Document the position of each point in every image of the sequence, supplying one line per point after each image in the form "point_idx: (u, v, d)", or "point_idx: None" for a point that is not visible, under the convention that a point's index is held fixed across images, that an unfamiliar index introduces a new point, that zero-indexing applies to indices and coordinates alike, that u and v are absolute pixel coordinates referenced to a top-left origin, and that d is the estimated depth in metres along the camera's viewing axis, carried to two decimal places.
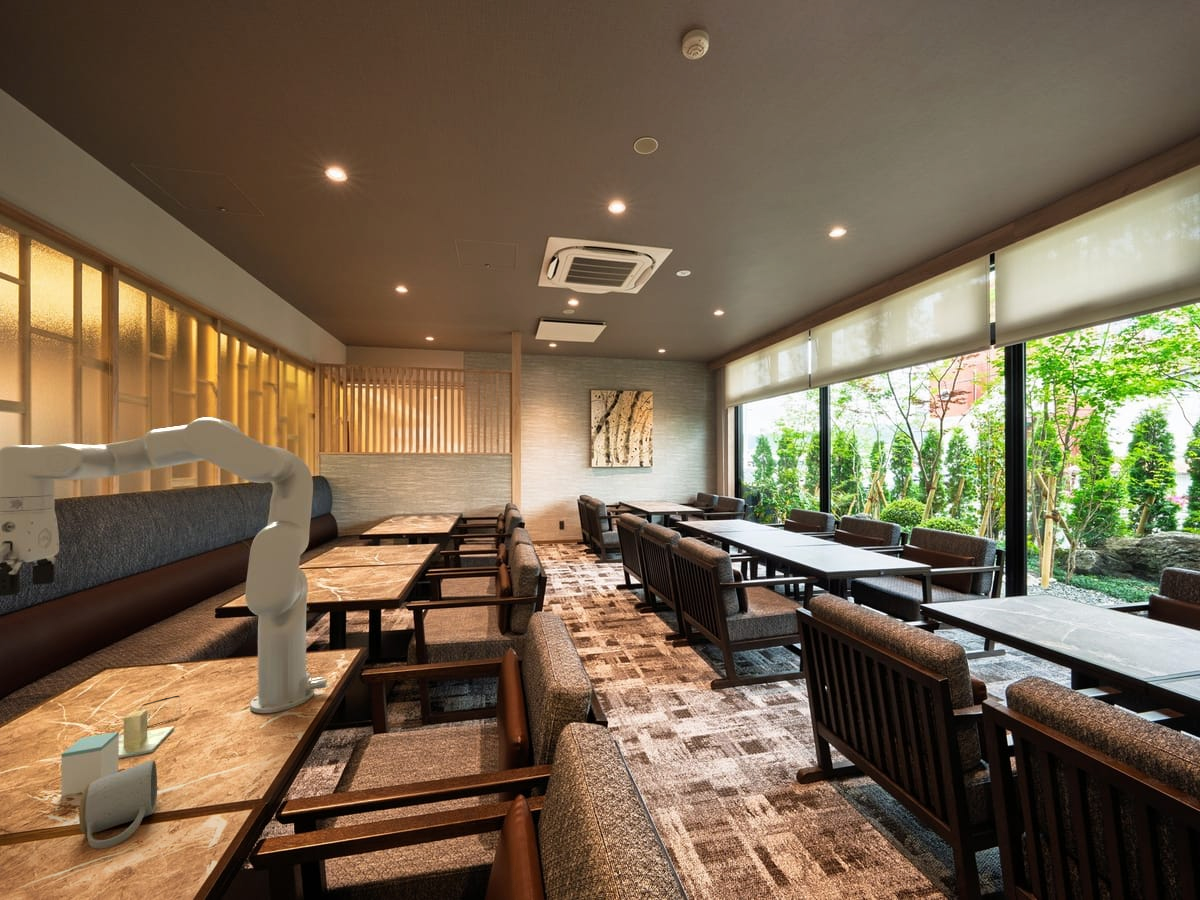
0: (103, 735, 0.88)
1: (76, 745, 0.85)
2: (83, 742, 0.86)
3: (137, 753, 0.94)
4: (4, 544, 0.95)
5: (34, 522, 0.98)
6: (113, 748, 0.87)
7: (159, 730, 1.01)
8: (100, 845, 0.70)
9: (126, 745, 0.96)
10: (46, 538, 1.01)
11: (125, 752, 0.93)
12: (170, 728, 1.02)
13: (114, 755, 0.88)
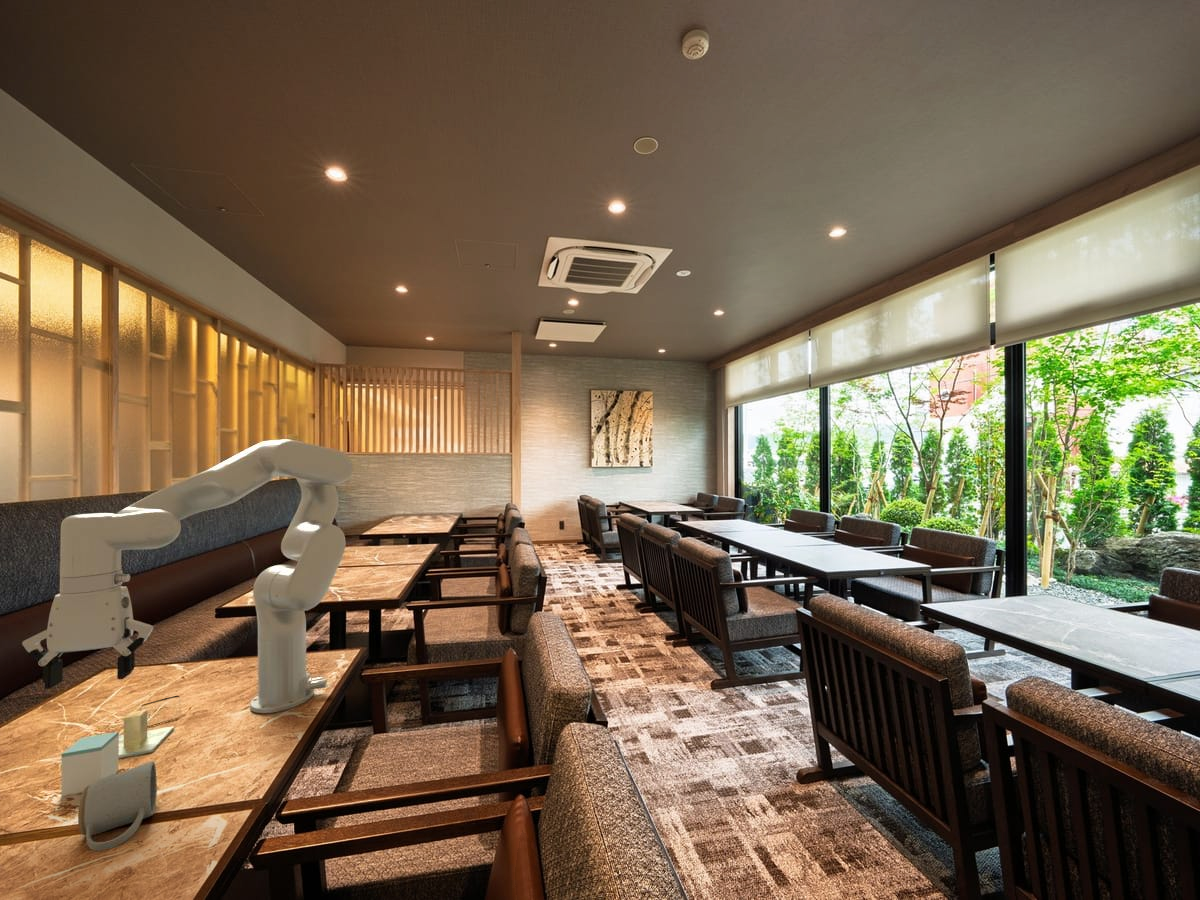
0: (103, 735, 0.88)
1: (76, 745, 0.85)
2: (83, 742, 0.86)
3: (137, 753, 0.94)
4: (129, 620, 0.88)
5: None
6: (113, 748, 0.87)
7: (159, 730, 1.01)
8: (99, 847, 0.70)
9: (126, 745, 0.96)
10: None
11: (125, 752, 0.93)
12: (170, 728, 1.02)
13: (114, 755, 0.88)
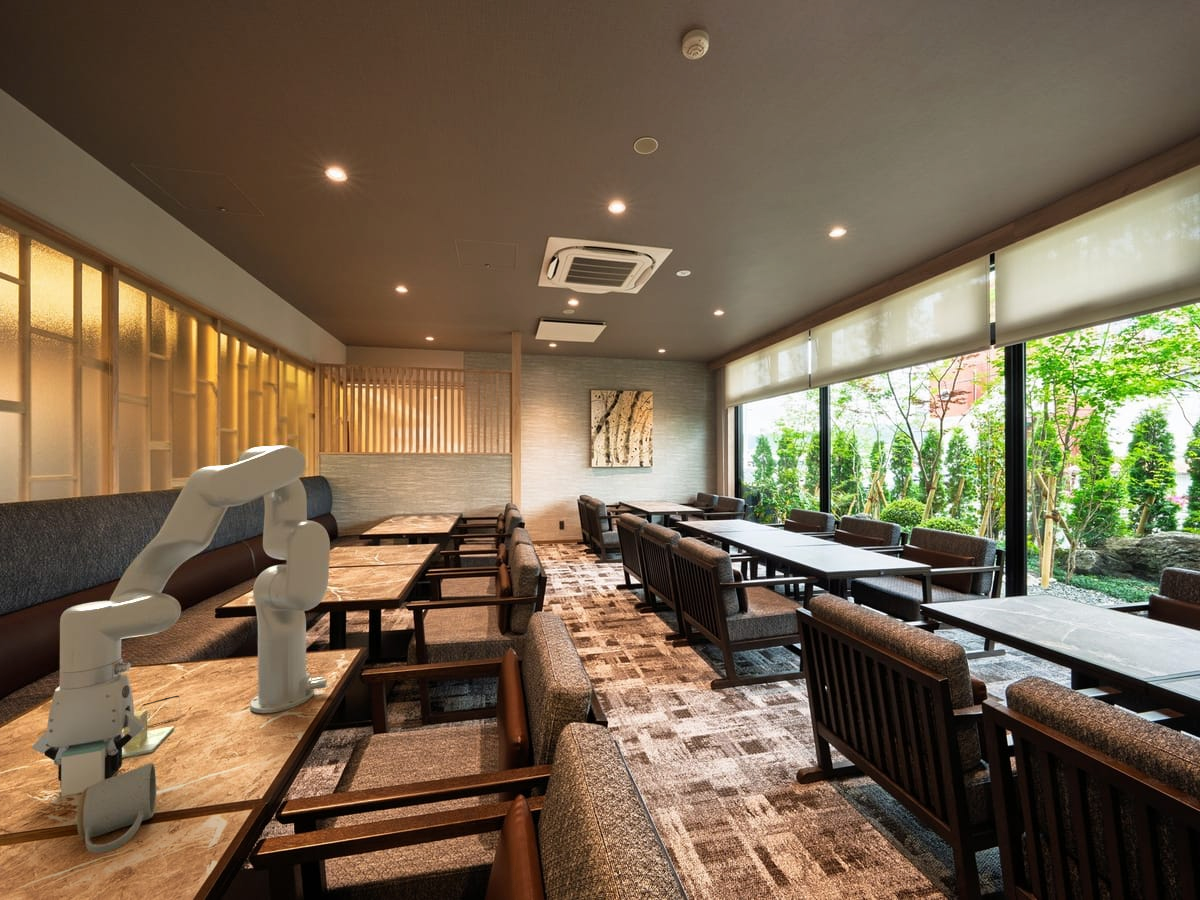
0: None
1: (76, 745, 0.85)
2: None
3: (137, 753, 0.94)
4: (128, 714, 0.87)
5: None
6: None
7: (159, 730, 1.01)
8: (98, 850, 0.69)
9: (126, 745, 0.96)
10: None
11: (125, 752, 0.93)
12: (170, 728, 1.02)
13: None
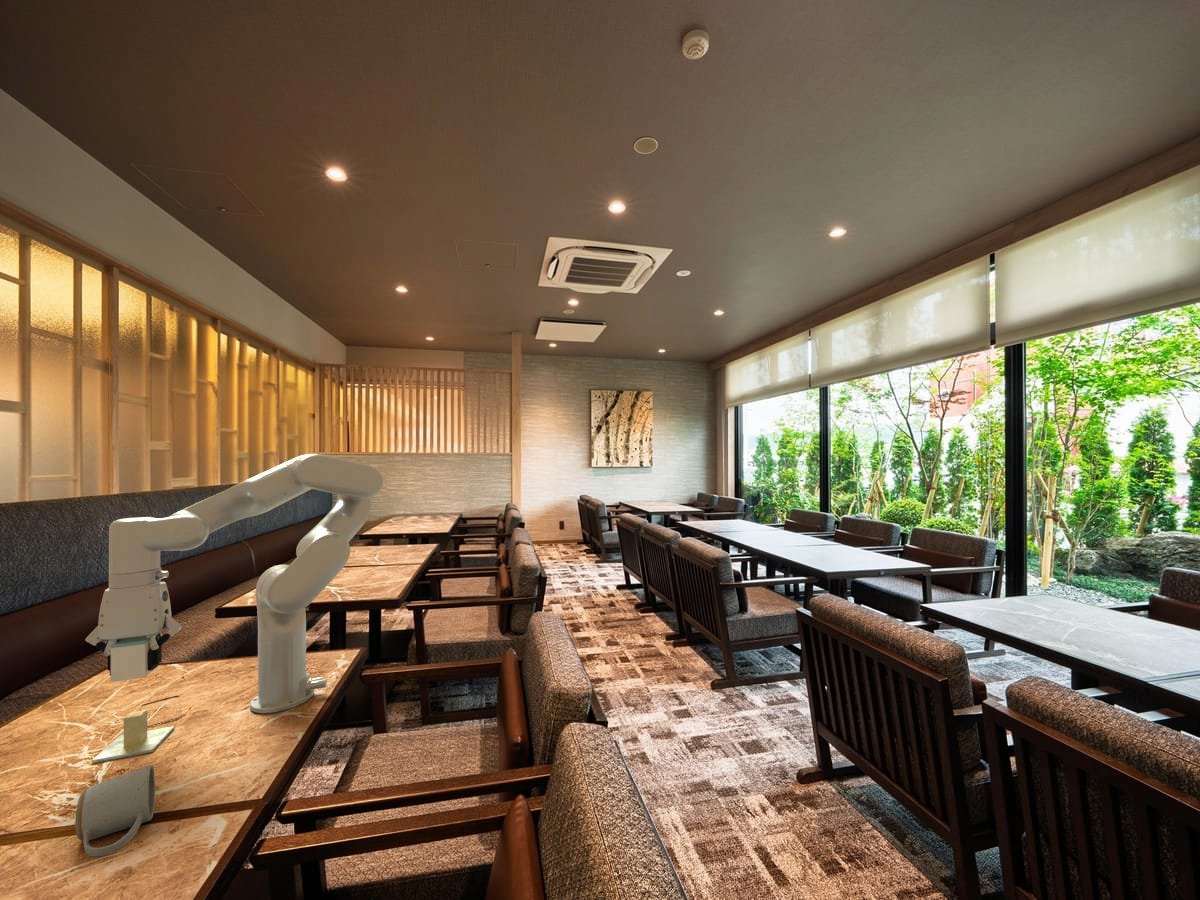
0: None
1: (122, 640, 0.97)
2: (128, 638, 0.97)
3: (137, 753, 0.94)
4: (167, 615, 0.99)
5: None
6: None
7: (159, 730, 1.01)
8: (97, 853, 0.69)
9: (126, 745, 0.96)
10: None
11: (125, 752, 0.93)
12: (170, 728, 1.02)
13: None
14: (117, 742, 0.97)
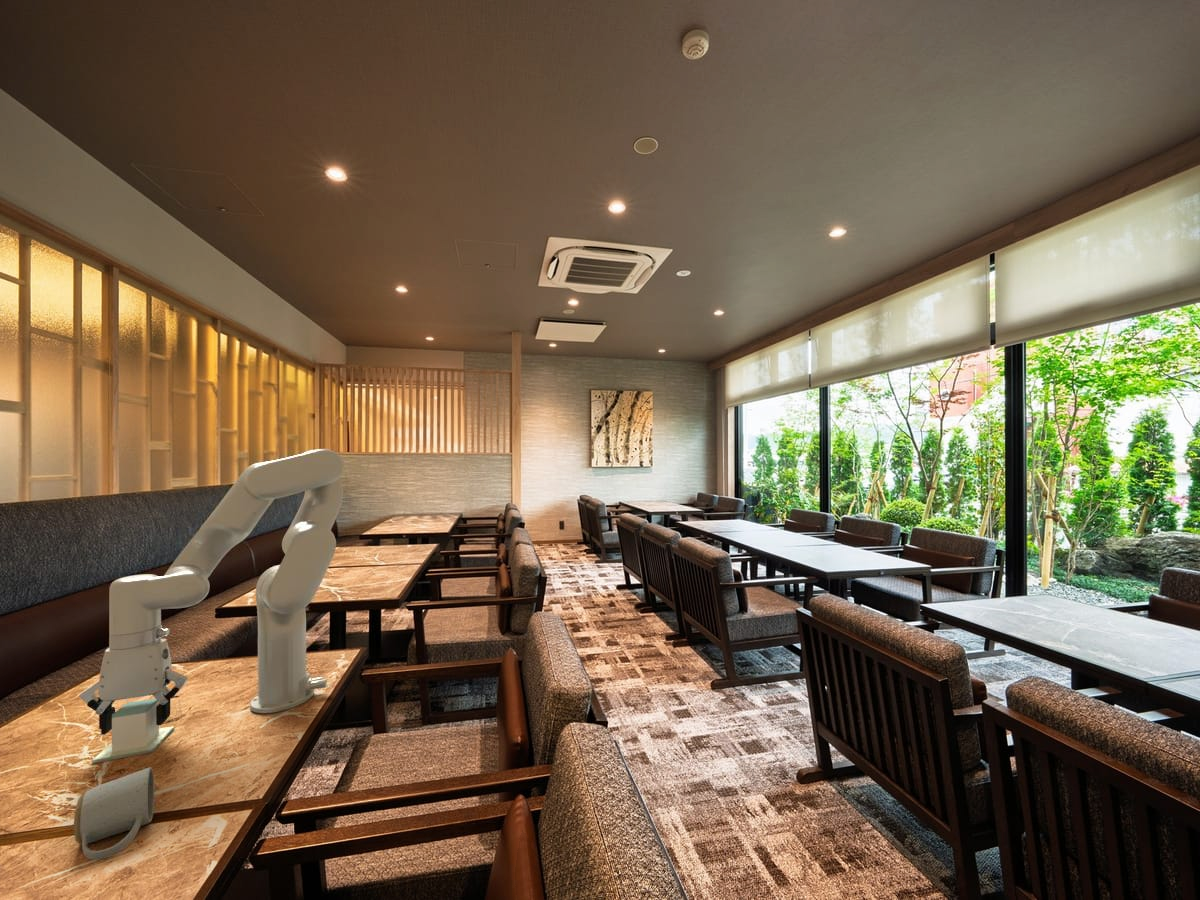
0: (146, 700, 0.99)
1: (123, 708, 0.96)
2: (129, 706, 0.97)
3: (137, 753, 0.94)
4: (169, 671, 0.99)
5: None
6: (154, 712, 0.99)
7: (159, 730, 1.01)
8: (95, 856, 0.68)
9: None
10: None
11: (125, 752, 0.93)
12: (170, 728, 1.02)
13: None
14: None
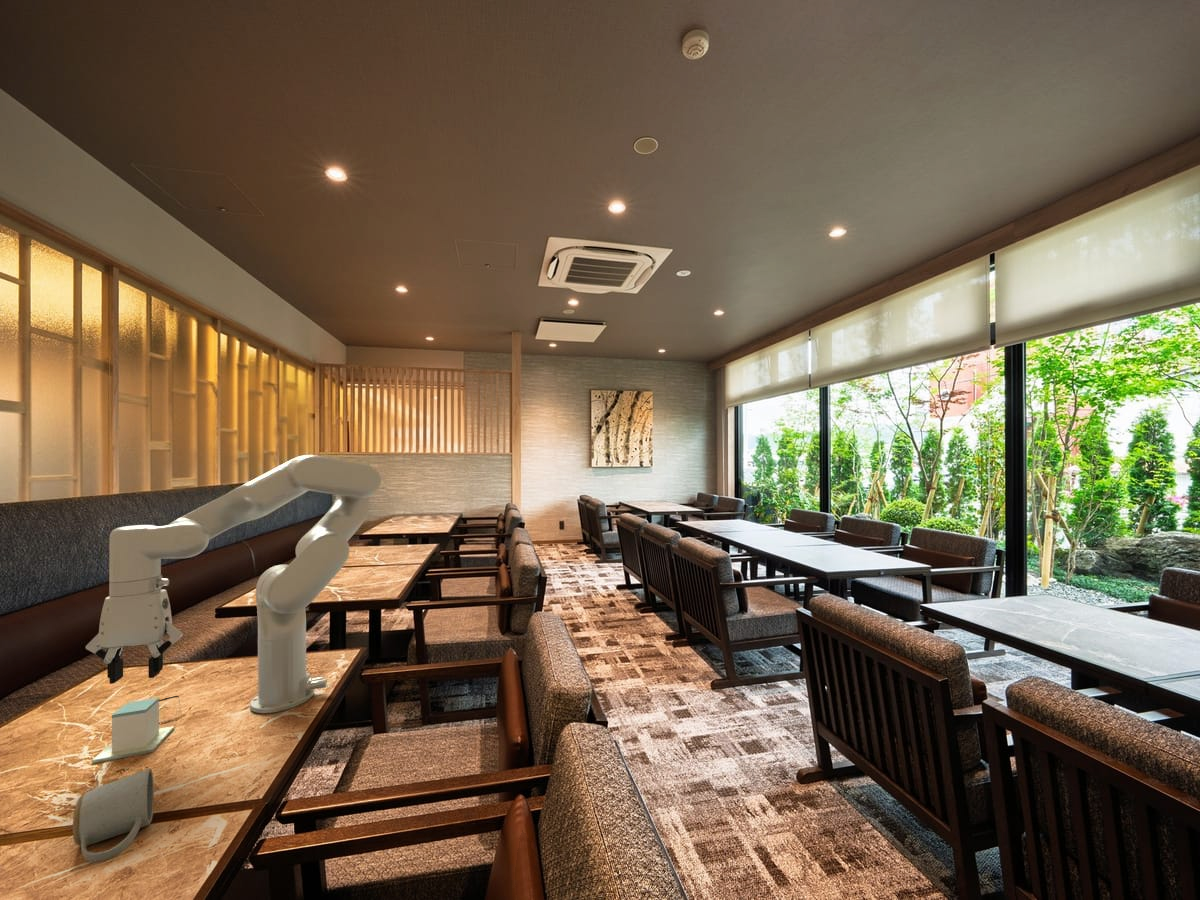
0: (146, 700, 0.99)
1: (123, 708, 0.96)
2: (129, 706, 0.97)
3: (137, 753, 0.94)
4: (167, 623, 0.99)
5: None
6: (154, 712, 0.99)
7: (159, 730, 1.01)
8: (94, 858, 0.68)
9: None
10: None
11: (125, 752, 0.93)
12: (170, 728, 1.02)
13: (156, 718, 0.99)
14: None
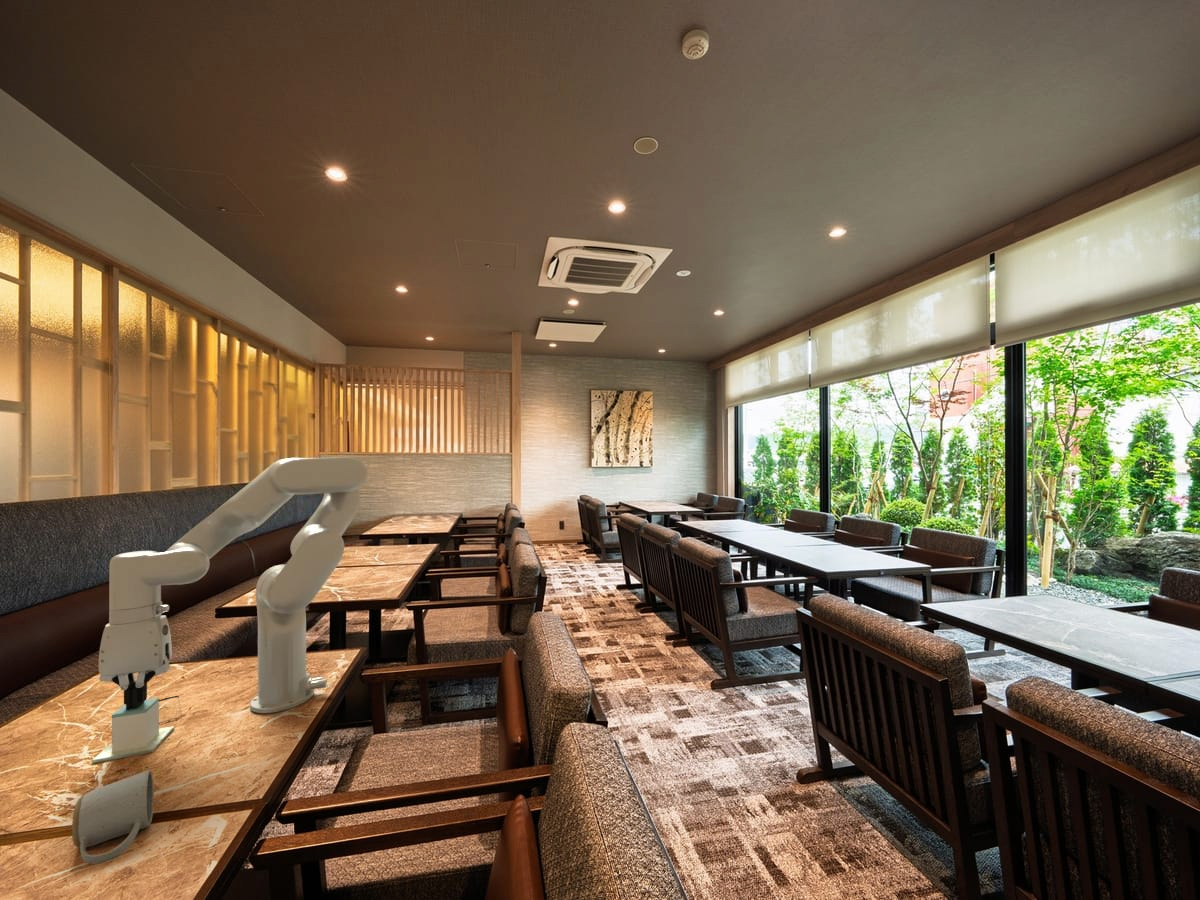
0: (146, 700, 0.99)
1: (123, 708, 0.96)
2: None
3: (137, 753, 0.94)
4: None
5: None
6: (154, 712, 0.99)
7: (159, 730, 1.01)
8: (94, 860, 0.67)
9: None
10: None
11: (125, 752, 0.93)
12: (170, 728, 1.02)
13: (156, 718, 0.99)
14: None
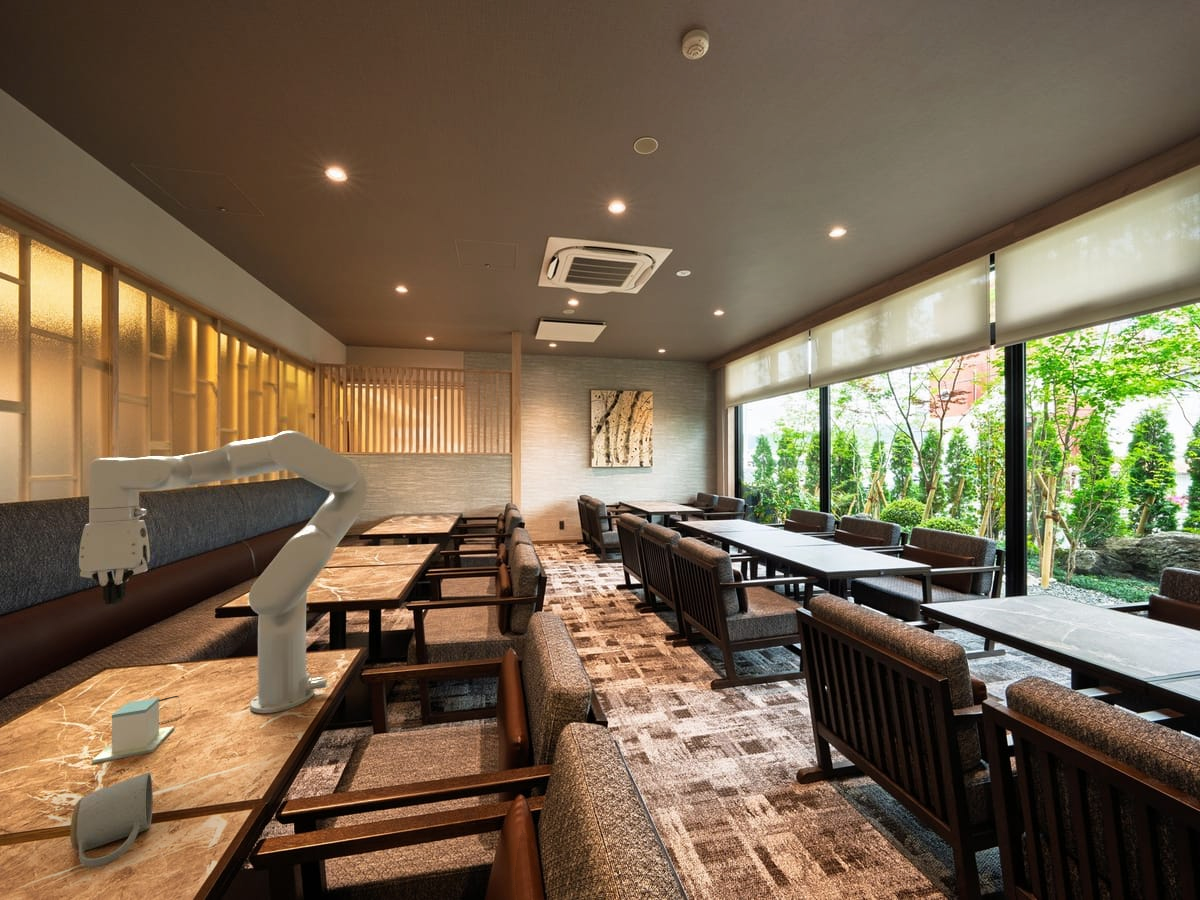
0: (146, 700, 0.99)
1: (123, 708, 0.96)
2: (129, 706, 0.97)
3: (137, 753, 0.94)
4: None
5: None
6: (154, 712, 0.99)
7: (159, 730, 1.01)
8: (92, 864, 0.67)
9: None
10: None
11: (125, 752, 0.93)
12: (170, 728, 1.02)
13: (156, 718, 0.99)
14: None
